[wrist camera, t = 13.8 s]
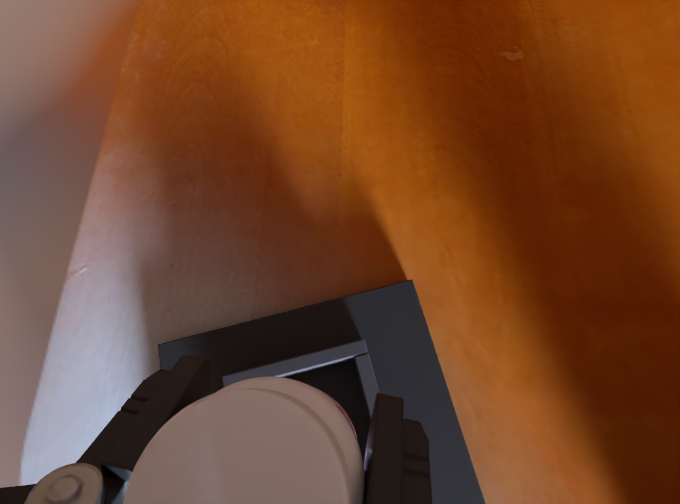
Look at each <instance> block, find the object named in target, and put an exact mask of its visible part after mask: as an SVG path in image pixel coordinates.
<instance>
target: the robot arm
mask: <svg viewBox="0 0 680 504" xmlns="http://www.w3.org/2000/svg"><path fill="white" fill-rule="evenodd" d="M211 394H212V363H211V360H210V359H206V358H201V357H196V356H191V355H186V354H185V355H182V356H181V357H180V359H179V360H178V361H177V362H176V364H175V365H174V366H173V368H172V369H171V370H170V371H168V370H163V369H160V370H159V371H157V372H156V373H154V374H153V375H151V376H150V377H148V378H146V379H145V380H143V382H142V383H141V384H140V385H139V387H138V388H137V389H136V390H135V391H134V393H133V394H132V395H131V398H129V399H128V400H127V401H126V402H125V404H124V405H123V406H122V407H121V410H120V411H118V412H117V413H116V415H115V416H114V417H113V418H112V420H111V421H110V422H109V423H108V424H107V426H106V427H105V428H104V429H103V431H102V432H101V433H100V434H99V435H98V437H97V438H96V439H95V440H94V442H93V443H92V444H91V445H90V446H89V448H88V449H87V450H86V451H85V453H84V454H83V455H82V456H81V457H80V459H79V460H78V461H77V462H76V463H74V464H69V465H66V466H63V467H60V468H58V469H56V470H54V471H52V472H51V473H49V474H48V475H46V476H45V477H44V478H42V479H41V480H40V481H39V482H38V483H37V484H32V485H25V486H15V487H6V488H0V504H123V503H124V498H125V493H126V490H127V486H128V483H129V480H130V477H131V475H132V472H133V470H134V467H135V465H136V463H137V462H138V460H139V458H140V456H141V454H142V453H143V451H144V449H145V448H146V446H147V445H148V443H149V442H150V441H151V439H152V438H153V437H154V436H155V434H156V433H157V432H158V431H159V430H160V428H161V427H162V426H163V425H164V424H165V423H166V422H168V421H169V420H170V419H171V418H172V417H173V416H174V415H176V414H177V413H178V412H179V411H181V410H182V409H184V408H185V407H187V406H188V405H190V404H192V403H194V402H195V401H197V400H199V399H201V398H204V397H206V396H209V395H211ZM403 410H404V401H403V398H401V397H396V396H391V395H386V394H381V393H377V395H376V399H375V404H374V409H373V414H372V418H371V423H370V428H369V433H368V438H367V445H366V453H365V462H364V470H365V481H366V482H365V498H364V504H432V488H431V478H430V474H431V472H430V462H429V459H430V455H429V439H428V437H427V435H426V433H425V431H424V429H423V427H422V425H421V423H420V422H419V421H414V420H409V419H404V418H403Z"/></svg>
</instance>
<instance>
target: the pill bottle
mask: <svg viewBox="0 0 680 504" xmlns="http://www.w3.org/2000/svg"><path fill="white" fill-rule="evenodd" d="M365 482H366V481H365V470H364V465H363V458H362V454H361V450H360V447H359V444H358V440H357V436H356V433H355V429H354V427H353V424H352V422H351V421H350V419H349V417H348V415H347V414H346V412H345V411H344V410H343V408H342V407H341V406H340V405H339V404H338V403H337V402H336V401H335V400H334V399H333V398H332V397H330V396H329V395H328V394H326V393H324V392H322V391H321V390H318V389H316V388H314V387H312V386H310V385H307V384H305V383H302V382H299V381H296V380H292V379H288V378H283V377H257V378H251V379H246V380H242V381H239V382H236V383H233V384H231V385H229V386H226V387H224V388H223V389H221V390H219V391H217V392H215V393H214V394H211V395H209V396H206V397H204V398H201V399H199V400H197V401H195V402H194V403H192V404H190V405H188V406H187V407H185V408H184V409H182V410H181V411H179V412H178V413H177V414H176V415H174V416H173V417H172V418H171V419H170V420H169V421H168V422H166V423H165V424H164V425H163V426H162V427H161V428H160V430H159V431H158V432H157V433H156V434H155V436H154V437H153V438H152V439H151V441H150V442H149V443H148V445H147V446H146V448H145V449H144V451H143V453H142V454H141V456H140V458H139V460H138V462H137V463H136V465H135V467H134V470H133V472H132V475H131V477H130V480H129V483H128V486H127V490H126V493H125V498H124V503H123V504H364V498H365Z"/></svg>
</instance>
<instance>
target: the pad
mask: <svg viewBox="0 0 680 504" xmlns="http://www.w3.org/2000/svg"><path fill="white" fill-rule="evenodd" d="M158 349H159V359H160V368H161V369H163V370H168V371H170V370H171V369H172V368H173V366H174V365H175V364H176V362H177V361H178V360H179V359H180V357H181V356H182V355H185V354H186V355H191V356H196V357H201V358H206V359H210V360H211V363H212V394H214V393H215V392H217V391H219V390H221V389H223V388H224V387H226V386H229V385H231V384H233V383H236V382H239V381H242V380H246V379H251V378H257V377H283V378H288V379H292V380H296V381H299V382H302V383H305V384H307V385H310V386H312V387H314V388H316V389H318V390H321V391H322V392H324V393H326V394H328V395H329V396H330V397H332V398H333V399H334V400H335V401H336V402H337V403H338V404H339V405H340V406H341V407H342V408H343V410H344V411H345V412H346V414H347V415H348V417H349V419H350V421H351V422H352V424H353V427H354V429H355V433H356V436H357V440H358V444H359V447H360V450H361V454H362V458H363V465H364V462H365V453H366V445H367V438H368V433H369V428H370V423H371V418H372V414H373V409H374V404H375V399H376V395H377V393H381V394H386V395H391V396H396V397H401V398H403V401H404V410H403V418H404V419H409V420H414V421H419V422H420V423H421V425H422V427H423V429H424V431H425V433H426V435H427V437H428V439H429V455H430V459H429V462H430V472H431V474H430V478H431V488H432V504H485V501H484V498H483V495H482V492H481V489H480V486H479V483H478V480H477V477H476V474H475V471H474V468H473V465H472V462H471V459H470V455H469V452H468V449H467V446H466V443H465V440H464V437H463V434H462V431H461V428H460V425H459V422H458V419H457V416H456V413H455V409H454V406H453V403H452V400H451V397H450V394H449V391H448V388H447V385H446V382H445V379H444V376H443V373H442V370H441V367H440V363H439V360H438V357H437V354H436V351H435V348H434V345H433V342H432V339H431V336H430V333H429V330H428V327H427V324H426V321H425V317H424V314H423V311H422V308H421V305H420V302H419V299H418V296H417V293H416V290H415V287H414V284H413V281H412V280H408V281H404V282H400V283H396V284H392V285H388V286H384V287H380V288H377V289H373V290H369V291H365V292H361V293H357V294H353V295H349V296H345V297H341V298H337V299H333V300H330V301H326V302H322V303H318V304H314V305H310V306H306V307H302V308H298V309H294V310H290V311H287V312H283V313H279V314H275V315H271V316H267V317H263V318H259V319H255V320H251V321H247V322H244V323H240V324H236V325H232V326H228V327H224V328H220V329H216V330H212V331H208V332H204V333H200V334H197V335H193V336H189V337H185V338H181V339H177V340H173V341H169V342H165V343H161V344H158Z"/></svg>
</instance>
